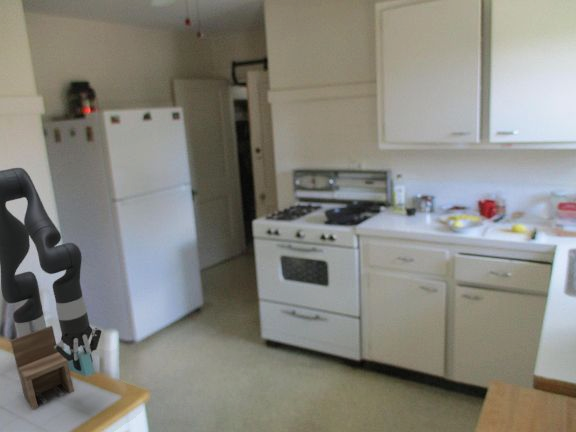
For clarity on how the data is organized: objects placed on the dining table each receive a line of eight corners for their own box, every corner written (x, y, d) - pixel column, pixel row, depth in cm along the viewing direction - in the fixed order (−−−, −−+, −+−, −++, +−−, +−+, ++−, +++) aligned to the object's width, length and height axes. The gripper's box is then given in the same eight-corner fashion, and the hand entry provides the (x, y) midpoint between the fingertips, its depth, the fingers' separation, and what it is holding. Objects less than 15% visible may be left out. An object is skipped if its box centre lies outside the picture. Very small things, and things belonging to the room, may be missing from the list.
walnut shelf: (24, 398, 153) (10, 340, 148) (63, 381, 161) (51, 325, 156) (33, 409, 147) (19, 349, 142) (74, 391, 155) (61, 333, 150)
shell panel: (70, 370, 149) (64, 351, 149) (78, 367, 151) (72, 348, 150) (86, 376, 139) (80, 356, 138) (95, 373, 140) (89, 353, 140)
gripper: (90, 301, 145) (101, 353, 150) (42, 318, 136) (55, 374, 140) (101, 307, 140) (112, 361, 144) (52, 326, 131) (65, 383, 135)
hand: (84, 367), depth 142 cm, fingers closed on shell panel, 2 cm apart
